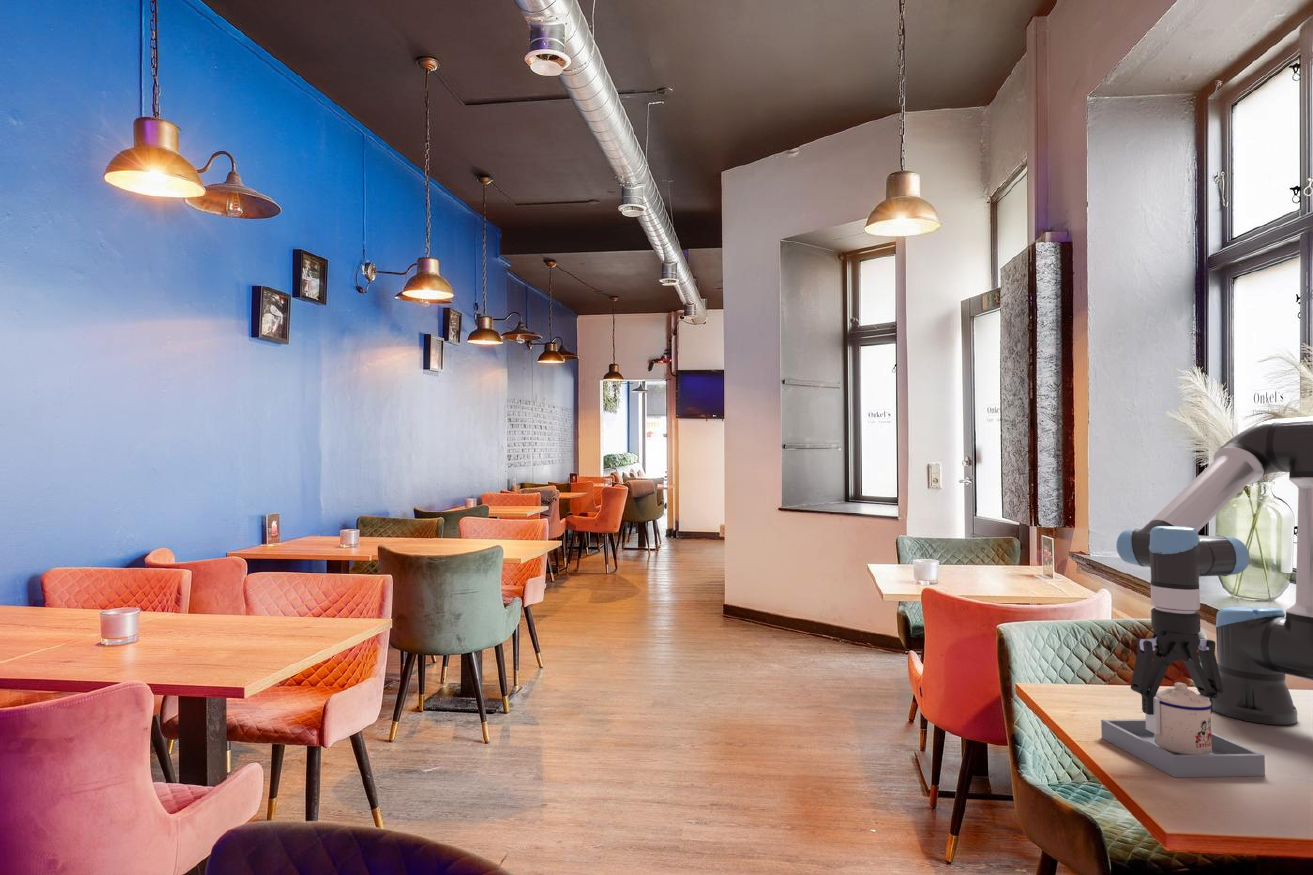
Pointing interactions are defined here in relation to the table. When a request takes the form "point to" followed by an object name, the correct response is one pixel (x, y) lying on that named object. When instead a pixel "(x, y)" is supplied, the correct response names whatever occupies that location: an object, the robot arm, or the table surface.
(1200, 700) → the teacup with lid
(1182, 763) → the tray
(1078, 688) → the table surface
